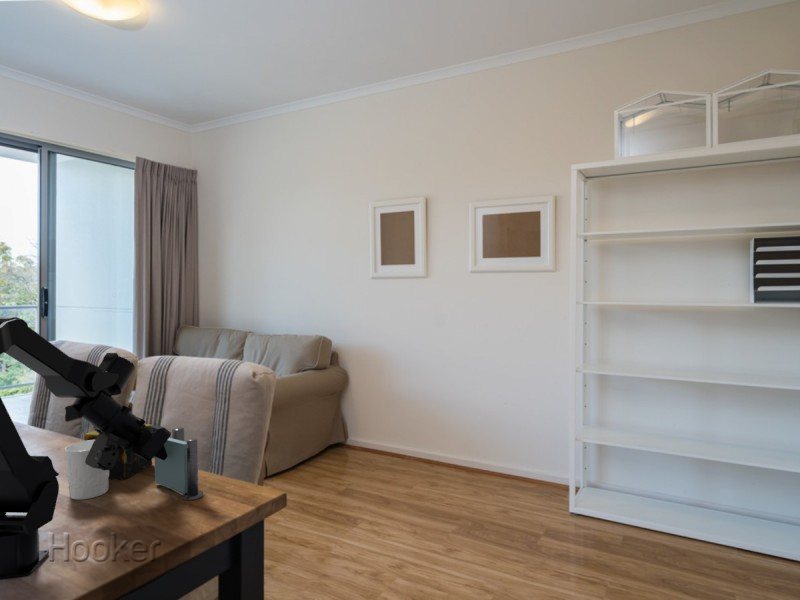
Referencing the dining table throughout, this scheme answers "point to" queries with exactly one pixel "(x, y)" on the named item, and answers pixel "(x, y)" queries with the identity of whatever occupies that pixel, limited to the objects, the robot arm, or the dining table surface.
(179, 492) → the strip
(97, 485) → the white cup
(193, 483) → the hinge post
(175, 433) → the post
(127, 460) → the holed cube box
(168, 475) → the gate
